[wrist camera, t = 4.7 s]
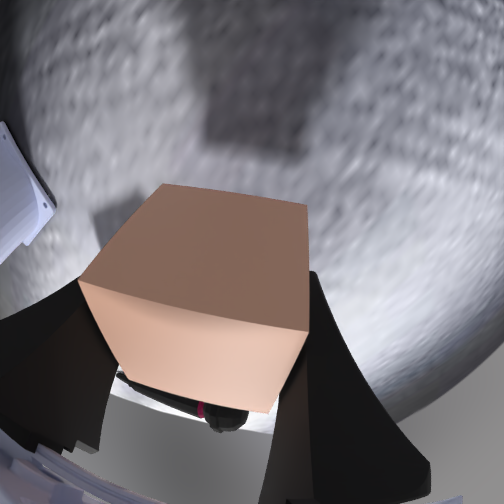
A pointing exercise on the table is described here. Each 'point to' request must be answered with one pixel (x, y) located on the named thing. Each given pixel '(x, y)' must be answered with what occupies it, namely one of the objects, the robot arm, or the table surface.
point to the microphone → (194, 407)
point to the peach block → (205, 294)
